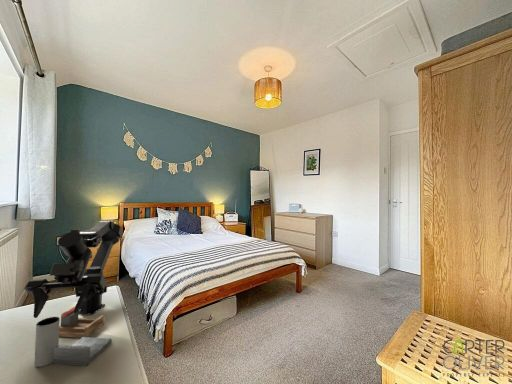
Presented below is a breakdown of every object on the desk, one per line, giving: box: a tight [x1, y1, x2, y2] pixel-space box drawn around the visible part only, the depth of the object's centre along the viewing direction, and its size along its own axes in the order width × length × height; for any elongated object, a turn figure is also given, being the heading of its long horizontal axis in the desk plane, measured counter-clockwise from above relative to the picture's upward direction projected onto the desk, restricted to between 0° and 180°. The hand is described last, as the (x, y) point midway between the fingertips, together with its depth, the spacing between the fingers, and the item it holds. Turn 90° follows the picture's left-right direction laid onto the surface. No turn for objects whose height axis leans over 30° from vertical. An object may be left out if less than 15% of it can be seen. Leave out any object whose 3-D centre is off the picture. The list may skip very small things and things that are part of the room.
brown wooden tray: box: [59, 314, 105, 339], centre depth 71 cm, size 7×12×3 cm, turn 87°
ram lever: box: [60, 306, 80, 327], centre depth 71 cm, size 5×3×5 cm, turn 177°
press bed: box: [53, 336, 113, 367], centre depth 61 cm, size 9×9×4 cm
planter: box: [33, 316, 61, 368], centre depth 58 cm, size 4×4×10 cm
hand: (55, 315), depth 61 cm, fingers open, 9 cm apart
